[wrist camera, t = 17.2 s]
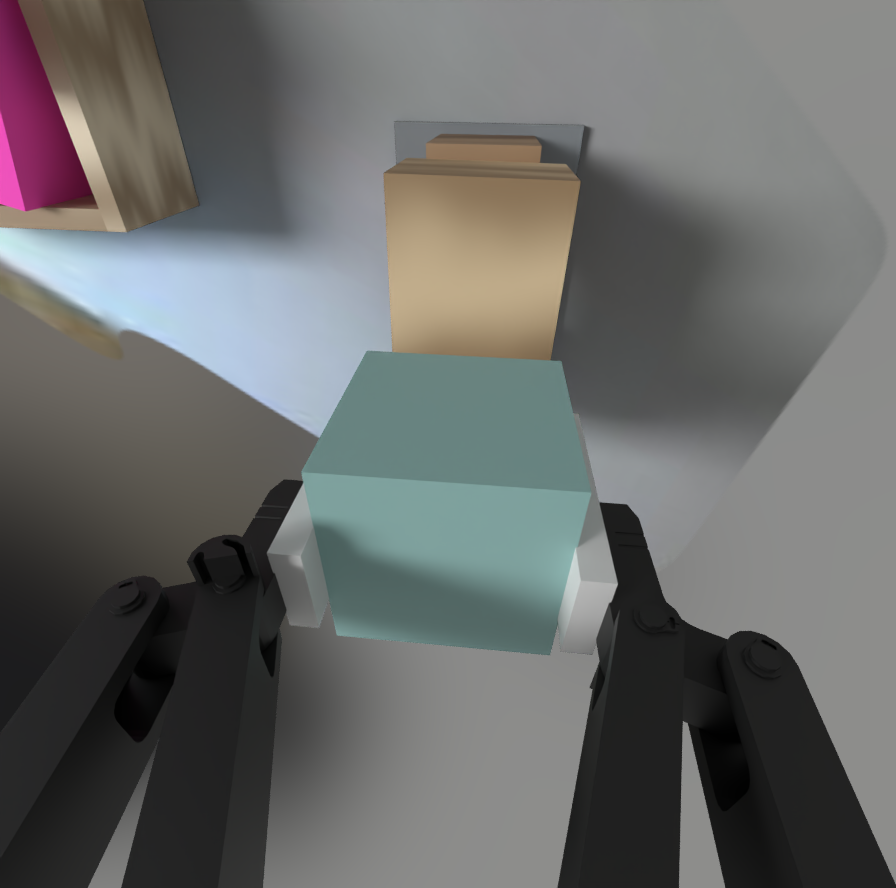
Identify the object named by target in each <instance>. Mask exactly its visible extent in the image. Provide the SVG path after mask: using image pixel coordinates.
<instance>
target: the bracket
mask: <svg viewBox="0 0 896 888" xmlns="http://www.w3.org/2000/svg"><path fill="white" fill-rule="evenodd" d="M89 195H93V192H92V190H91V187H90V185H89V182H88V180H87V177H86V175H85V172H84V169H83V167H82V164H81V162H80V159H79V157H78V154H77V152H76V149H75V146H74V144H73V141H72V139H71V136H70V134H69V131H68V128H67V126H66V123H65V121H64V118H63V116H62V113H61V111H60V108H59V105H58V103H57V100H56V98H55V95H54V93H53V90H52V87H51V85H50V82H49V80H48V77H47V75H46V72H45V70H44V67H43V64H42V62H41V59H40V57H39V54H38V52H37V49H36V46H35V44H34V41H33V39H32V36H31V34H30V31H29V29H28V26H27V23H26V21H25V18H24V16H23V13H22V11H21V8H20V5H19V3H18V0H0V204H2V205H6V206H9V207H12V208H15V209H19V210H22V211H25V212H26V211H30V210H34V209H38V208H41V207H44V206H48V205H52V204H56V203H60V202H64V201H68V200H73V199H77V198H81V197H85V196H89Z"/></svg>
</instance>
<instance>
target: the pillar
mask: <svg viewBox="0 0 896 888" xmlns="http://www.w3.org/2000/svg"><path fill="white" fill-rule="evenodd" d="M541 148H542V146H541V144H540V143H539V141H538V140H537V138H536V137H535V136H523V135H475V134H440V135H438V136H437V137H435V138H433V139H432V140H430V141H429V142H427V143H426V159H450V160H475V161H501V162H526V163H540V157H541Z"/></svg>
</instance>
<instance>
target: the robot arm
mask: <svg viewBox="0 0 896 888" xmlns="http://www.w3.org/2000/svg"><path fill="white" fill-rule="evenodd" d="M573 414H574V419H575V423H576V427H577V432H578V436H579V440H580V445H581V449H582V454H583V458H584V462H585V467H586V471H587V475H588V480H589V484H590V488H591V497H590V500H589V504H588V508H587V512H586V516H585V520H584V524H583V528H582V532H581V536H580V539H579V543H578V547H576V548H575V552H574V556H573V560H572V563H571V567H570V571H569V575H568V579H567V583H566V587H565V591H564V595H563V599H562V603H561V607H560V611H559V615H558V619H557V621H558V630H559V640H560V650H561V652H568V653H578V654H589V655H592V654H593V651H594V649H595V646H596V643H597V648H598V654H599V660H600V662H599V665H598V668H597V670H596V672H595V675H594V678H593V680H592V683H591V686H590V688H591V689H593V690H592V697H591V701H590V707H589V713H588V719H587V725H586V730H585V736H584V741H583V747H582V753H581V758H580V764H579V770H578V775H577V781H576V786H575V792H574V798H573V803H572V809H571V815H570V821H569V826H568V832H567V837H566V843H565V849H564V854H563V860H562V865H561V871H560V877H559V882H558V888H679V856H680V813H681V770H682V725H683V721H684V722H687V723H688V726H689V730H690V735H691V739H692V743H693V748H694V752H695V757H696V761H697V765H698V770H699V773H700V778H701V783H702V787H703V791H704V796H705V800H706V805H707V808H708V813H709V818H710V822H711V826H712V830H713V835H714V840H715V844H716V848H717V853H718V857H719V861H720V865H721V870H722V875H723V879H724V883H725V888H896V884H895V882H894V880H893V877H892V875H891V873H890V871H889V869H888V866H887V864H886V862H885V860H884V857H883V855H882V853H881V851H880V848H879V846H878V844H877V842H876V840H875V837H874V835H873V833H872V830H871V828H870V826H869V824H868V821H867V819H866V817H865V815H864V812H863V810H862V808H861V806H860V804H859V801H858V799H857V797H856V794H855V792H854V790H853V788H852V786H851V783H850V781H849V779H848V777H847V774H846V772H845V770H844V768H843V765H842V763H841V761H840V759H839V756H838V754H837V752H836V750H835V747H834V745H833V743H832V741H831V738H830V736H829V734H828V732H827V730H826V727H825V725H824V723H823V720H822V718H821V716H820V714H819V712H818V709H817V707H816V705H815V703H814V700H813V698H812V696H811V694H810V692H809V689H808V687H807V685H806V682H805V680H804V678H803V676H802V673H801V671H800V669H799V667H798V665H797V663H796V662H795V660H794V659H793V657H792V656H791V654H790V653H789V652H788V651H787V650H786V649H784V648H783V647H782V646H781V645H780V644H779V643H778V642H776V641H774V640H773V639H771V638H769V637H767V636H766V635H763V634H760V633H756V632H752V631H739V632H737V633H735V634H733V635H731V636H730V637H729V639H725V638H722V637H720V636H717V635H714V634H712V633H709V632H706V631H703V630H700V629H698V628H696V627H694V626H692V625H690V624H688V623H687V622H685V621H684V620H682V619H681V617H680V616H679V614H678V613H677V611H676V610H675V609H674V608H673V607H672V606H670V605H669V604H668V603H667V602H666V601H665V599H664V596H663V594H662V590H661V587H660V584H659V581H658V578H657V575H656V571H655V568H654V565H653V562H652V559H651V556H650V552H649V550H648V549H647V548H648V546H647V543H646V540H645V537H644V533H643V530H642V527H641V524H640V521H639V518H638V517H637V516H636V515H635V514H634V512H633V511H632V510H631V509H630V508H629V506H628V505H627V504H614V503H600V502H599V500H598V495H597V491H596V487H595V482H594V478H593V474H592V469H591V465H590V461H589V456H588V452H587V448H586V443H585V439H584V435H583V430H582V426H581V422H580V417H579V414H577V413H573ZM187 563H188V565H189V567H190V569H191V571H192V573H193V576H194V578H195V580H196V582H192V583H187V584H181V585H176V586H170V587H165V588H162V586H161V585H160V583H159V582H158V581H157V580H156V579H154V578H152V577H147V576H138V577H132V578H129V579H126V580H124V581H121V582H119V583H117V584H116V585H114V586H113V587H111V588H109V589H108V590H107V591H106V592H105V593H104V594H103V595H102V596H101V597H100V598H99V599H98V600H97V602H96V603H95V605H94V606H93V607H92V608H91V610H90V611H89V613H88V614H87V615H86V617H85V618H84V619H83V621H82V622H81V623H80V625H79V626H78V628H77V629H76V630H75V632H74V633H73V634H72V636H71V637H70V638H69V640H68V641H67V643H66V644H65V645H64V647H63V648H62V650H61V651H60V652H59V653H58V655H57V656H56V658H55V659H54V661H53V662H52V663H51V665H50V666H49V667H48V669H47V670H46V671H45V673H44V674H43V675H42V677H41V678H40V680H39V681H38V682H37V684H36V685H35V686H34V688H33V689H32V690H31V692H30V693H29V694H28V696H27V697H26V699H25V700H24V701H23V703H22V704H21V705H20V707H19V708H18V709H17V711H16V712H15V714H14V715H13V717H12V718H11V719H10V720H9V722H8V723H7V724H6V726H5V727H4V729H3V730H2V731H1V733H0V888H88V886H89V884H90V882H91V879H92V877H93V875H94V873H95V871H96V869H97V867H98V865H99V863H100V861H101V859H102V857H103V854H104V852H105V850H106V848H107V846H108V844H109V842H110V840H111V838H112V836H113V834H114V832H115V829H116V827H117V825H118V823H119V821H120V819H121V817H122V815H123V813H124V811H125V809H126V806H127V804H128V802H129V800H130V798H131V796H132V794H133V792H134V789H135V788H136V785H137V784H138V781H139V779H140V777H141V775H142V773H143V771H144V769H145V767H146V765H147V763H148V760H149V758H150V756H151V754H152V752H153V750H154V748H155V746H156V744H157V742H158V740H159V742H158V746H157V750H156V754H155V758H154V762H153V765H152V769H151V773H150V777H149V781H148V785H147V789H146V793H145V797H144V801H143V805H142V809H141V812H140V816H139V820H138V824H137V828H136V832H135V837H134V840H133V844H132V848H131V852H130V856H129V860H128V863H127V868H126V871H125V875H124V879H123V883H122V887H121V888H263V879H264V865H265V852H266V840H267V826H268V814H269V801H270V788H271V774H272V762H273V749H274V736H275V723H276V709H277V697H278V683H279V671H280V657H281V644H282V638H281V633H280V629H279V627H280V625H281V622H282V620H283V618H284V616H285V613H286V614H287V618H288V621H289V624H290V625H295V626H304V627H314V628H319V627H320V624H321V621H322V618H323V615H324V613H325V609H326V607H327V604H328V601H329V595H328V591H327V586H326V582H325V577H324V572H323V568H322V563H321V558H320V554H319V549H318V545H317V540H316V535H315V531H314V527H313V524H312V519H311V515H310V510H309V505H308V501H307V496H306V492H305V487H304V483H303V481H297V480H283V481H282V482H280V483H279V484H278V485H277V486H275V487H274V488H273V489H272V490H271V491H270V492H269V493H268V495H267V497H266V498H265V500H264V502H263V503H262V507H260V508H259V510H258V512H257V513H256V515H255V518H253V520H252V522H251V524H250V525H249V527H248V529H247V530H246V532H245V534H244V535H243V537H240V536H237V535H222V536H218V537H215V538H212V539H210V540H208V541H206V542H204V543H202V544H201V545H200V546H199V547H197V548H196V549H195V550H194V551H193V552H192V553H191V555H190V557H189V559H188V561H187Z"/></svg>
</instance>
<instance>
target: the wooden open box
mask: <svg viewBox="0 0 896 888" xmlns="http://www.w3.org/2000/svg"><path fill="white" fill-rule="evenodd" d="M18 3H19V5H20V8H21V11H22V13H23V16H24V18H25V21H26V23H27V26H28V29H29V31H30V34H31V36H32V39H33V41H34V44H35V46H36V49H37V52H38V54H39V57H40V59H41V62H42V64H43V67H44V70H45V72H46V75H47V77H48V80H49V82H50V85H51V87H52V90H53V93H54V95H55V98H56V100H57V103H58V105H59V108H60V111H61V113H62V116H63V118H64V121H65V123H66V126H67V128H68V131H69V134H70V136H71V139H72V141H73V144H74V146H75V149H76V152H77V154H78V157H79V159H80V162H81V164H82V167H83V169H84V172H85V175H86V177H87V180H88V182H89V185H90V187H91V190H92V192H93V195H89V196H85V197H81V198H77V199H73V200H68V201H64V202H60V203H56V204H52V205H48V206H44V207H41V208H38V209H34V210H30V211H26V212H25V211H22V210H19V209H15V208H12V207H9V206H6V205H2V204H0V227H6V228H32V229H58V230H84V231H110V232H128V231H131V230H134V229H137V228H139V227H142V226H145V225H147V224H150V223H153V222H156V221H158V220H161V219H164V218H166V217H169V216H172V215H175V214H177V213H180V212H183V211H185V210H188V209H191V208H194V207H196V206H199V202H198V199H197V195H196V191H195V188H194V184H193V181H192V177H191V173H190V170H189V166H188V162H187V159H186V155H185V151H184V148H183V144H182V140H181V137H180V133H179V129H178V126H177V122H176V118H175V115H174V111H173V107H172V104H171V100H170V96H169V93H168V89H167V85H166V82H165V78H164V75H163V71H162V67H161V64H160V60H159V56H158V53H157V49H156V45H155V42H154V38H153V34H152V31H151V27H150V23H149V20H148V16H147V12H146V9H145V5H144V1H143V0H18Z"/></svg>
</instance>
